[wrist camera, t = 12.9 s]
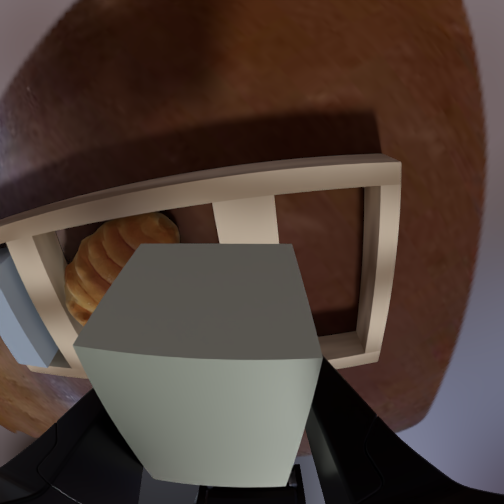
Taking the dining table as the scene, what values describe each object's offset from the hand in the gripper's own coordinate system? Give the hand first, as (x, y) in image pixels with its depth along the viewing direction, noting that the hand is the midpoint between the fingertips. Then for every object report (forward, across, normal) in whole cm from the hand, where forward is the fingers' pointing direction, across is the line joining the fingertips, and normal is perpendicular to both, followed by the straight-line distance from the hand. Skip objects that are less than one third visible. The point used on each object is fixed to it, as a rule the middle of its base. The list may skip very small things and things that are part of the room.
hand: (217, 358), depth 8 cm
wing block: (+11, +18, +3) cm, 22 cm away
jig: (+11, +7, +4) cm, 13 cm away
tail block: (+1, 0, 0) cm, 1 cm away
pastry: (+11, +8, +2) cm, 14 cm away
